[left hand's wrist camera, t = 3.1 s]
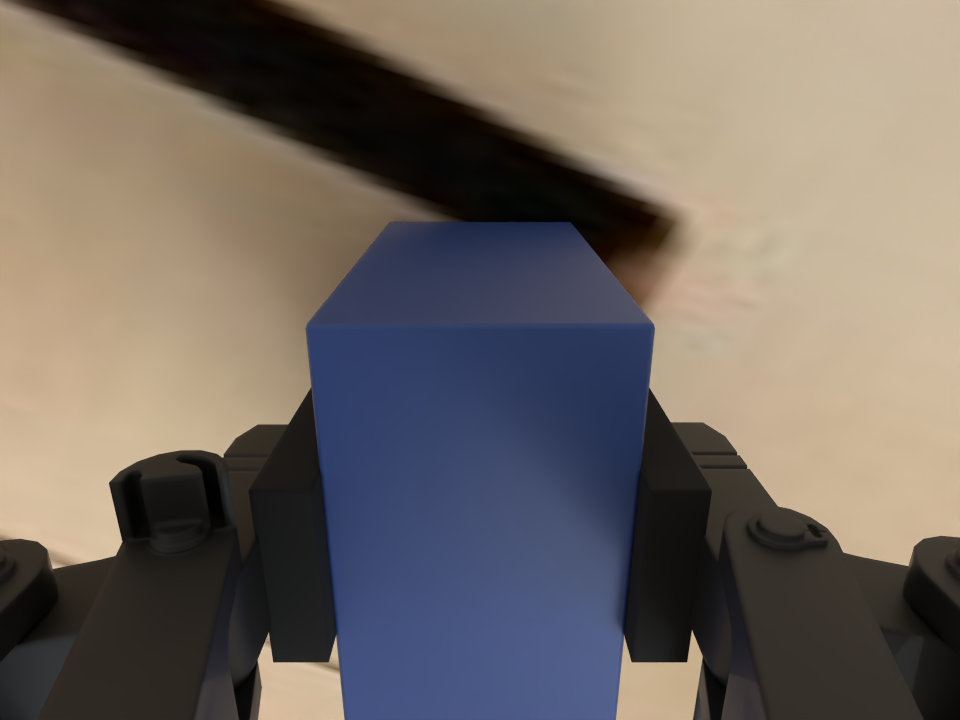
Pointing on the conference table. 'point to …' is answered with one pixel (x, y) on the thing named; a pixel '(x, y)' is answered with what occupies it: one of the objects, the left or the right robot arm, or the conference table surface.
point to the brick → (480, 471)
